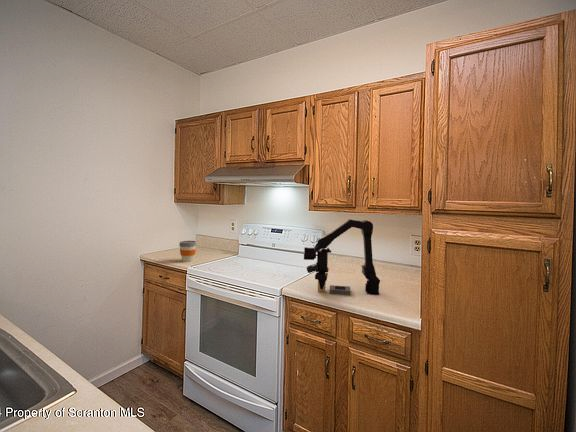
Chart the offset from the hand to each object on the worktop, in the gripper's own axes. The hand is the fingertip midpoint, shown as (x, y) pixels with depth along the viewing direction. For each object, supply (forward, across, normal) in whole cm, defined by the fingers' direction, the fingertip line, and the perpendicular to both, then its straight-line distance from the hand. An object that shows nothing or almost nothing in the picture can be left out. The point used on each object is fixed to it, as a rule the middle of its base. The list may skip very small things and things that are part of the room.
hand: (321, 287), depth 160 cm
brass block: (+2, 0, 0) cm, 2 cm away
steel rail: (+2, 0, +10) cm, 10 cm away
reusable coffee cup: (+2, -49, -108) cm, 119 cm away
